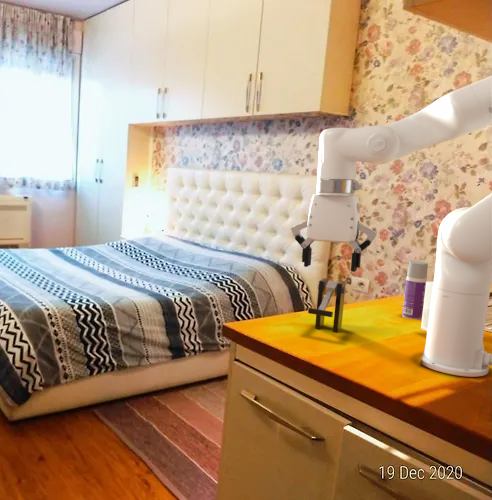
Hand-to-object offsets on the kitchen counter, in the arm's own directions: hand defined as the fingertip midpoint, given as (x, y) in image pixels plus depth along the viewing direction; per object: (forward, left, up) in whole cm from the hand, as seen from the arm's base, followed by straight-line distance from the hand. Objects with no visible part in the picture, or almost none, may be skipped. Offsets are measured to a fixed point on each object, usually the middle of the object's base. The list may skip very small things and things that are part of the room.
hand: (330, 268), depth 110 cm
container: (-14, -38, -17) cm, 44 cm away
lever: (+1, -4, -9) cm, 10 cm away
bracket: (+1, -8, -17) cm, 19 cm away
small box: (-22, -23, -17) cm, 36 cm away
